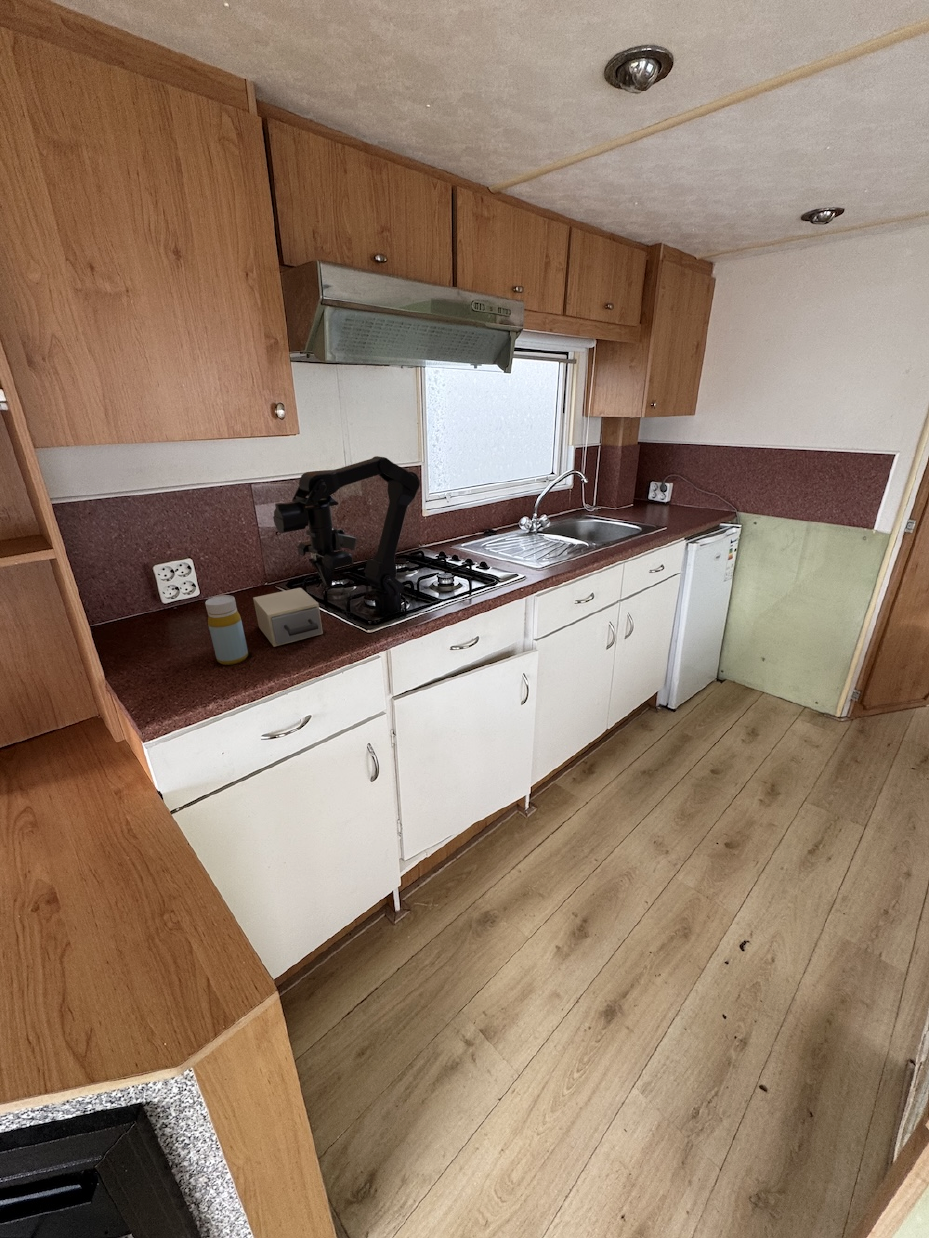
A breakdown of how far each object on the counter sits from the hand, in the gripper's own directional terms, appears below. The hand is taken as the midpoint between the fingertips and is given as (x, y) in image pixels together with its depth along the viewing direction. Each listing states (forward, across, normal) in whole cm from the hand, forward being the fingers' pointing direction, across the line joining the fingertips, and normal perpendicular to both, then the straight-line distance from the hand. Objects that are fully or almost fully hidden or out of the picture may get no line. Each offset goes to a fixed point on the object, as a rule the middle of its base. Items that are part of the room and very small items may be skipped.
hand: (328, 586), depth 137 cm
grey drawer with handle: (+11, +3, +10) cm, 15 cm away
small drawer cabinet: (+12, +7, +9) cm, 17 cm away
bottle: (+12, +1, +26) cm, 29 cm away
